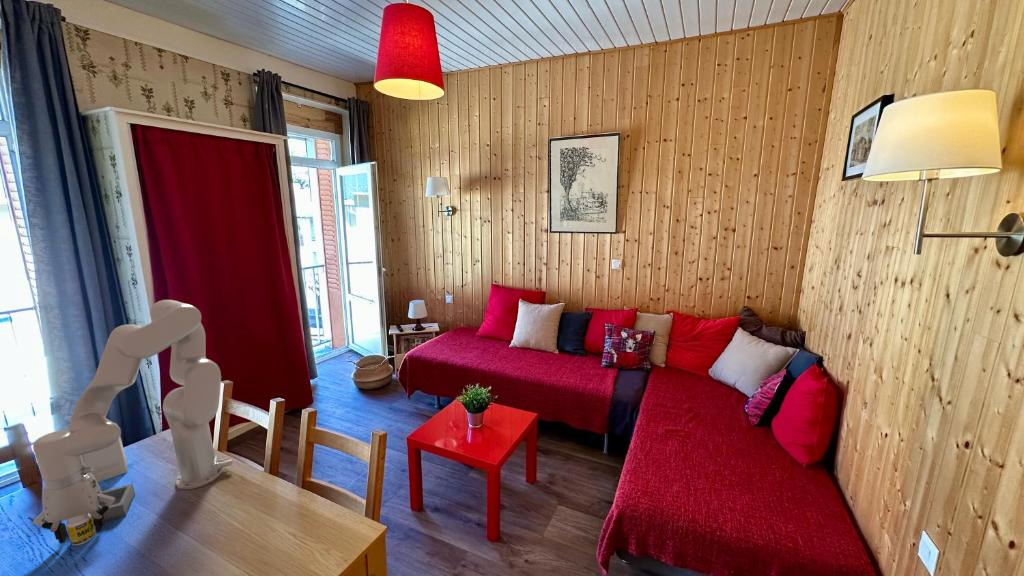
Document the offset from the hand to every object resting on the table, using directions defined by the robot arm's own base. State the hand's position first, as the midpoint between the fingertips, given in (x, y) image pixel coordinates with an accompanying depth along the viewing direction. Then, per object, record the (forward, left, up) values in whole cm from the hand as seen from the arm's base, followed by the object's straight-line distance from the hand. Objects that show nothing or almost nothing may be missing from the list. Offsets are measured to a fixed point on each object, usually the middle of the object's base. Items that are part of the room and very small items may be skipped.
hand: (82, 533), depth 112 cm
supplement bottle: (0, 0, -2) cm, 2 cm away
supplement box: (+3, -33, -2) cm, 33 cm away
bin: (-2, -10, -2) cm, 10 cm away
